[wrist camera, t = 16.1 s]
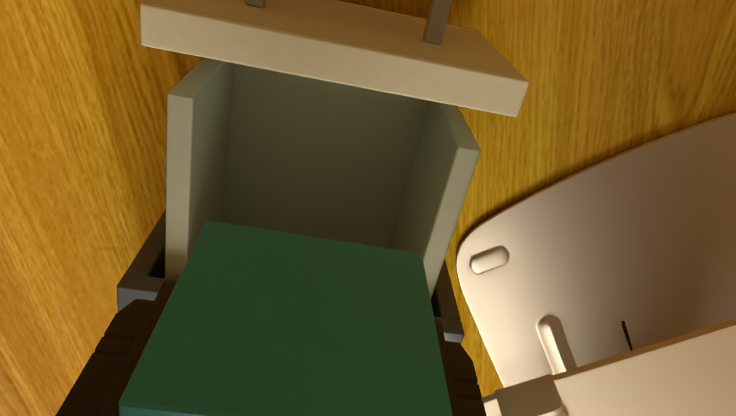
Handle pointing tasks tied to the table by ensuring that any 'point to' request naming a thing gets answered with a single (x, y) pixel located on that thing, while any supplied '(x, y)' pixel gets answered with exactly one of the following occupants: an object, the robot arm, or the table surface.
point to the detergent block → (292, 332)
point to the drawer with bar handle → (323, 120)
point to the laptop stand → (615, 284)
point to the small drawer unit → (150, 276)
